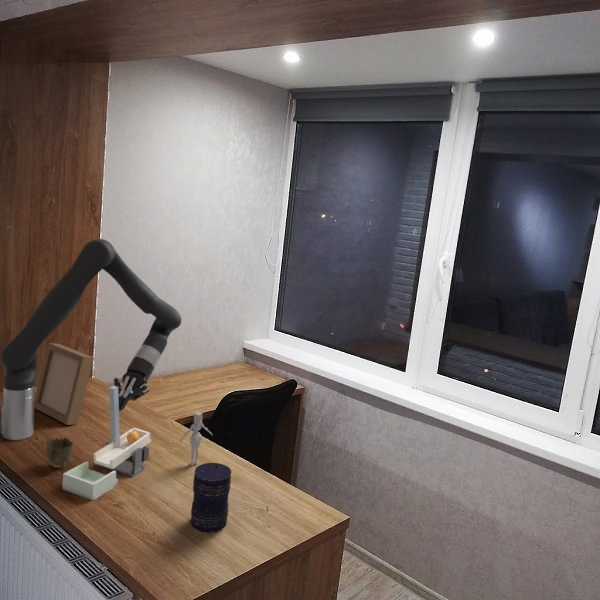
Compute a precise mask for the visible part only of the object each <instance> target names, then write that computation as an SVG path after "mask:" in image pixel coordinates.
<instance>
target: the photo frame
mask: <svg viewBox="0 0 600 600" xmlns="http://www.w3.org/2000/svg"><path fill="white" fill-rule="evenodd" d="M93 361H94V357H93V356H91V355H88V354H87V353H84V352H81V351H78V350H75V349H73V348H71V347H69V346H66V345H63V344H60V343H55V342H54V343H53V342H48V344H47V349H46V351H45V356H44V360H43V364H42V368H41V372H40V376H39V379H38V380H39V381H38V385H37V387H36V388H37V389H36V391H35V392H36V393H35V395H34V409H37V410H38V411H40V412H42V413H44V414H45V415H48V417H51V418H53V419H55V420H57V421H59V422H60V423H62V424H64V425H67V426H68V425H69V426H71V425H78V424H79V420H80V416H81V411H82V408H83V403H84V399H85V394H86V393H87V392H86V391H87V388H88V383H89V379H90V375H91V370H92V366H93Z"/></svg>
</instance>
